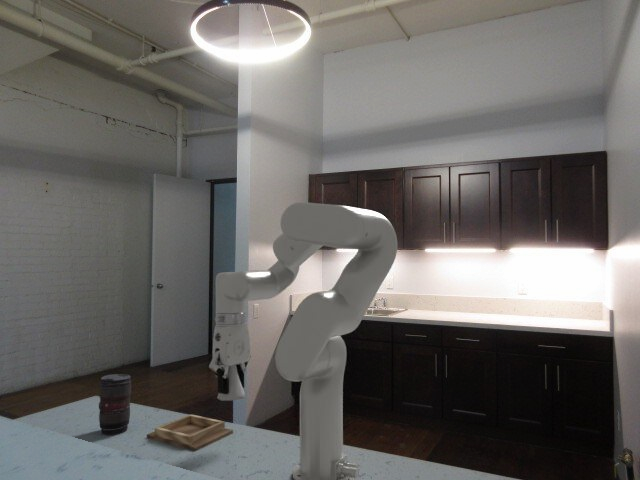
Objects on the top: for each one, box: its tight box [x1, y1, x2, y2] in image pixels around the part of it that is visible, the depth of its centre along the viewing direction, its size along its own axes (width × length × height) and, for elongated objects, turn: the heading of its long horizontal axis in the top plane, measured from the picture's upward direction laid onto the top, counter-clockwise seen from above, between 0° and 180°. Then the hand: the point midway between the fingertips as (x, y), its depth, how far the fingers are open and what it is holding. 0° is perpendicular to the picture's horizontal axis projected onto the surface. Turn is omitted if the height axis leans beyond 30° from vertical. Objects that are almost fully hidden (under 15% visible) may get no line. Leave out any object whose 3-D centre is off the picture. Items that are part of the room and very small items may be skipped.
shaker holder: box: [146, 413, 234, 452], centre depth 125 cm, size 18×14×3 cm
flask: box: [216, 365, 246, 402], centre depth 118 cm, size 7×7×10 cm
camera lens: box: [98, 373, 132, 436], centre depth 129 cm, size 8×8×15 cm
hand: (231, 389), depth 118 cm, fingers closed on flask, 5 cm apart
